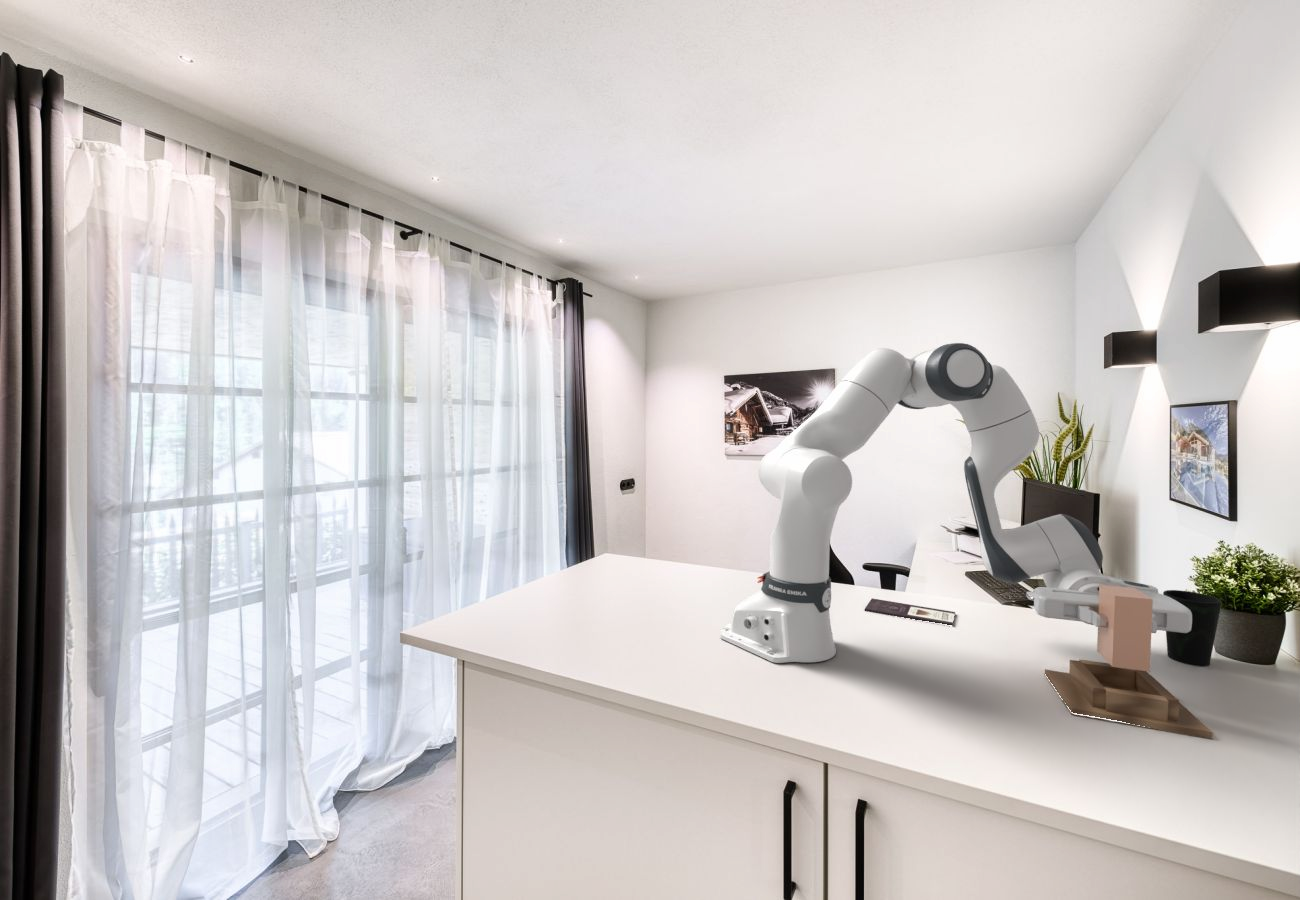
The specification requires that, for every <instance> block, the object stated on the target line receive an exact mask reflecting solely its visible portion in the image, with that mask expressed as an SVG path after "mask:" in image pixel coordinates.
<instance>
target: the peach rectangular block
mask: <svg viewBox="0 0 1300 900" xmlns="http://www.w3.org/2000/svg"><path fill="white" fill-rule="evenodd" d="M1152 606H1153V599H1152V598H1150V597H1148V596H1147V595H1145V594H1144V593H1142V592H1141V591H1139V590H1137V589H1136V588H1132V587H1120V586H1109V585H1099V611H1098V613H1101V614H1105V616H1107V617H1108V622H1107V624H1108V627H1107V628H1105V627H1097V641H1096V642H1097V643H1096V652H1098V654H1099V655H1100V656H1101V657H1102V658H1103V659H1104V660H1105V661H1106V663H1109V664H1110V665H1111V666H1112V667H1119V668H1126V669H1134V670H1141V671H1147V672H1148V673H1149V672H1151V671H1150V670H1151V650H1152V649H1151V648H1152V633H1151V630H1152Z"/></svg>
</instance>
